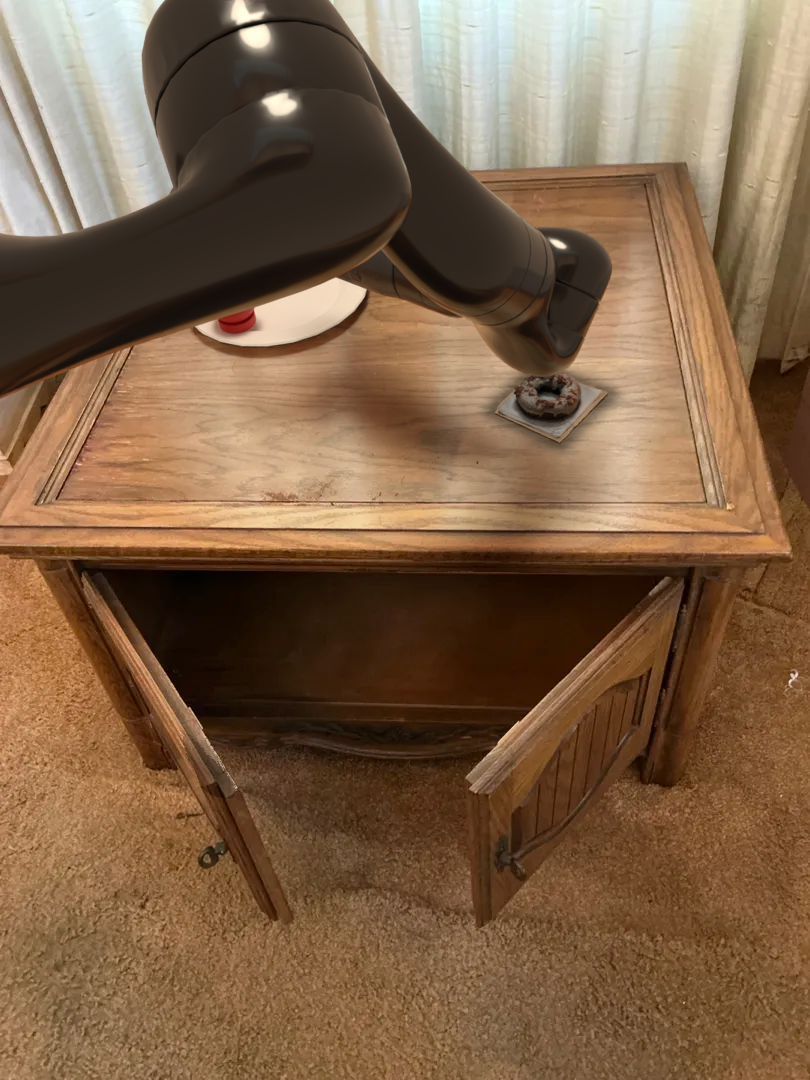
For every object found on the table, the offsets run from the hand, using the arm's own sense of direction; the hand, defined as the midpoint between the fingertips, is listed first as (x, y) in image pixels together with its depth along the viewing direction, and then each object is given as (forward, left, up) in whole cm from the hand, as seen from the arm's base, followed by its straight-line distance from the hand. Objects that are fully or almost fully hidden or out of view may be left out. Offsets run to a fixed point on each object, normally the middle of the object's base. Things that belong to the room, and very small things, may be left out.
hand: (239, 194), depth 77 cm
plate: (+3, +9, -18) cm, 20 cm away
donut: (+20, -22, -18) cm, 35 cm away
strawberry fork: (-2, +5, -16) cm, 17 cm away
